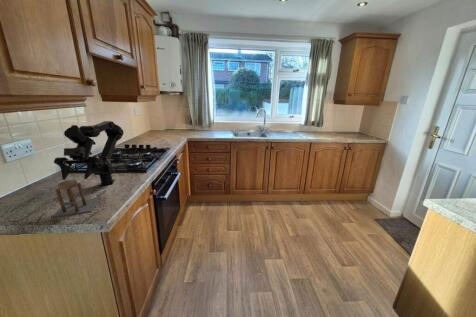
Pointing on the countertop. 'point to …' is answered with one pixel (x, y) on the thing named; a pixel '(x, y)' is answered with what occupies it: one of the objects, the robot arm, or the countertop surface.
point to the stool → (70, 194)
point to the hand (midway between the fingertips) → (74, 179)
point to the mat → (82, 209)
